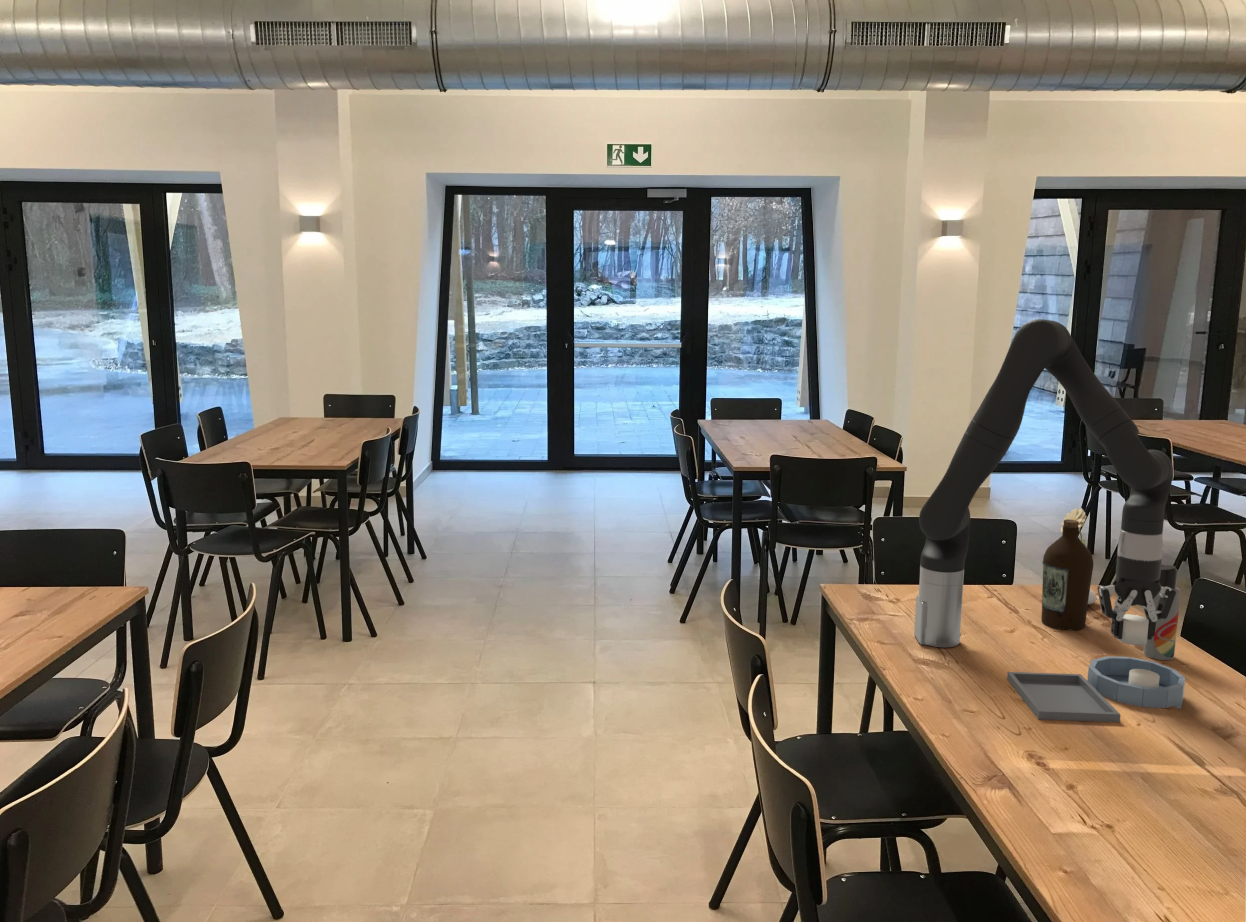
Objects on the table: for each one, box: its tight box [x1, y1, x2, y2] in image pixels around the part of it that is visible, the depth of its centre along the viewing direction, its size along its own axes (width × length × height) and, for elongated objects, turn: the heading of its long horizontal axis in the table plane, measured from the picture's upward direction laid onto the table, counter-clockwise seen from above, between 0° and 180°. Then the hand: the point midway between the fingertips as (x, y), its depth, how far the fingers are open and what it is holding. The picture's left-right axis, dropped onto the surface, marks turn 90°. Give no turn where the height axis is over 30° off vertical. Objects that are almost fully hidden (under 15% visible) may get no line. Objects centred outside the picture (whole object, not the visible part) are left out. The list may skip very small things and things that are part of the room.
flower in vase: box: [1060, 507, 1098, 605], centre depth 230 cm, size 13×11×25 cm
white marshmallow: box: [1128, 669, 1160, 687], centre depth 174 cm, size 5×5×4 cm
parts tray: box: [1006, 671, 1121, 724], centre depth 173 cm, size 14×18×2 cm
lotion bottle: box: [1143, 564, 1182, 661], centre depth 195 cm, size 6×6×20 cm
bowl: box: [1086, 655, 1186, 710], centre depth 177 cm, size 16×16×4 cm
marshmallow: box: [1117, 613, 1149, 646], centre depth 179 cm, size 5×5×4 cm
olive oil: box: [1040, 519, 1094, 631], centre depth 215 cm, size 11×11×25 cm
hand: (1132, 637), depth 179 cm, fingers closed on marshmallow, 5 cm apart
